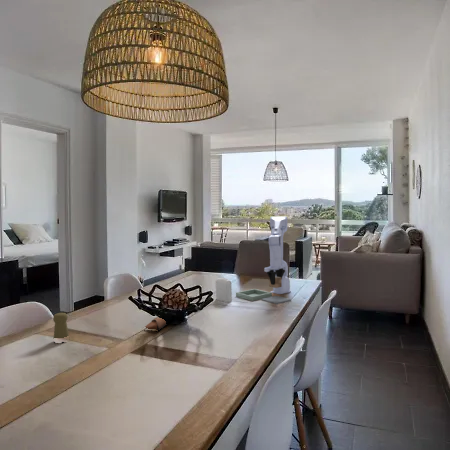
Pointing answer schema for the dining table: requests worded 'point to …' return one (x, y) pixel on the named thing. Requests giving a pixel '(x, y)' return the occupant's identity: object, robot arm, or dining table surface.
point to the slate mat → (276, 299)
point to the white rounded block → (223, 290)
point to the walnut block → (276, 282)
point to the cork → (60, 325)
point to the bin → (253, 294)
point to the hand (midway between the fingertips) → (275, 283)
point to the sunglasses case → (156, 323)
